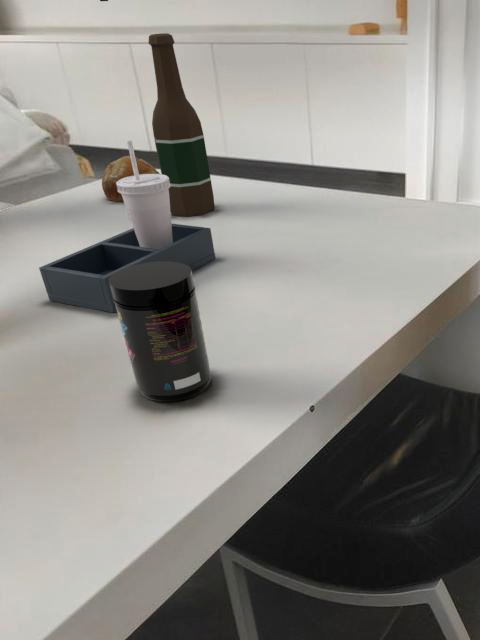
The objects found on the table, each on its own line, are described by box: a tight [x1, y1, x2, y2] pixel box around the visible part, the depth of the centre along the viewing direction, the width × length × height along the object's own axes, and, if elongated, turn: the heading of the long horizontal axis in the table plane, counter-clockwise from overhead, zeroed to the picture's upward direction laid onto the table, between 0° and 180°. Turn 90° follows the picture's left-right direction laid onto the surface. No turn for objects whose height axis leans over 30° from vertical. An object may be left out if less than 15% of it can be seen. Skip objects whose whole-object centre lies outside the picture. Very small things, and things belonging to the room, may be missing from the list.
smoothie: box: [116, 140, 173, 249], centre depth 85 cm, size 6×6×14 cm
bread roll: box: [101, 155, 161, 203], centre depth 119 cm, size 10×10×8 cm
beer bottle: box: [148, 32, 216, 218], centre depth 104 cm, size 8×8×24 cm
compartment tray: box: [38, 223, 216, 313], centre depth 85 cm, size 10×19×4 cm, turn 154°
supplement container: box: [109, 261, 212, 403], centre depth 60 cm, size 7×7×10 cm
